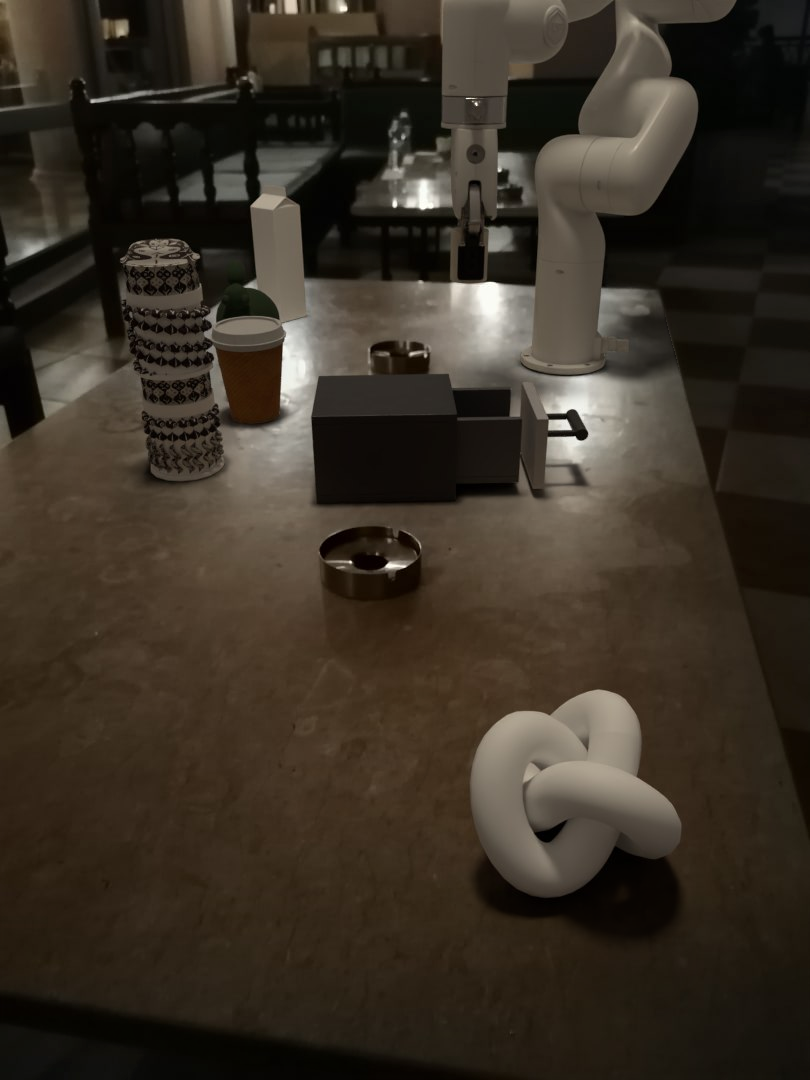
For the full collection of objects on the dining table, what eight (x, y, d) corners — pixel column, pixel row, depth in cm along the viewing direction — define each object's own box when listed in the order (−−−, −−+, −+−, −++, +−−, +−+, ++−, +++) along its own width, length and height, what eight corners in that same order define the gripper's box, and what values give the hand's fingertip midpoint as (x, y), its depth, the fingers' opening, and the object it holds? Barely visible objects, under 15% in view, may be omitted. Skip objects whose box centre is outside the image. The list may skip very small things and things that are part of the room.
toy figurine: (281, 408, 126) (283, 340, 147) (269, 272, 115) (273, 220, 136) (212, 411, 125) (224, 343, 146) (194, 275, 115) (210, 222, 135)
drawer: (569, 445, 107) (575, 381, 103) (589, 487, 97) (596, 418, 93) (413, 448, 107) (412, 383, 103) (416, 491, 96) (416, 421, 93)
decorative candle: (130, 476, 103) (91, 248, 91) (175, 446, 110) (145, 232, 98) (200, 487, 100) (170, 254, 88) (241, 455, 107) (219, 237, 95)
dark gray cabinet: (447, 453, 108) (448, 373, 103) (455, 500, 96) (457, 413, 92) (323, 455, 107) (318, 375, 103) (316, 503, 96) (311, 416, 91)
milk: (281, 323, 158) (271, 189, 148) (259, 317, 162) (247, 186, 151) (307, 316, 162) (298, 185, 152) (285, 310, 166) (275, 182, 155)
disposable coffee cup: (278, 431, 114) (271, 337, 108) (207, 426, 116) (196, 333, 110) (301, 405, 122) (295, 316, 117) (234, 400, 124) (225, 313, 118)
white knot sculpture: (529, 965, 48) (540, 844, 44) (427, 812, 57) (428, 700, 53) (697, 889, 52) (722, 771, 48) (576, 758, 62) (588, 651, 57)
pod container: (485, 275, 115) (487, 226, 113) (488, 283, 111) (490, 233, 109) (449, 275, 115) (450, 226, 113) (450, 283, 111) (452, 233, 109)
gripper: (514, 118, 97) (505, 290, 106) (499, 109, 112) (492, 261, 121) (444, 118, 97) (441, 290, 106) (438, 109, 112) (436, 261, 121)
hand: (468, 273), depth 113 cm, fingers closed on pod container, 4 cm apart
